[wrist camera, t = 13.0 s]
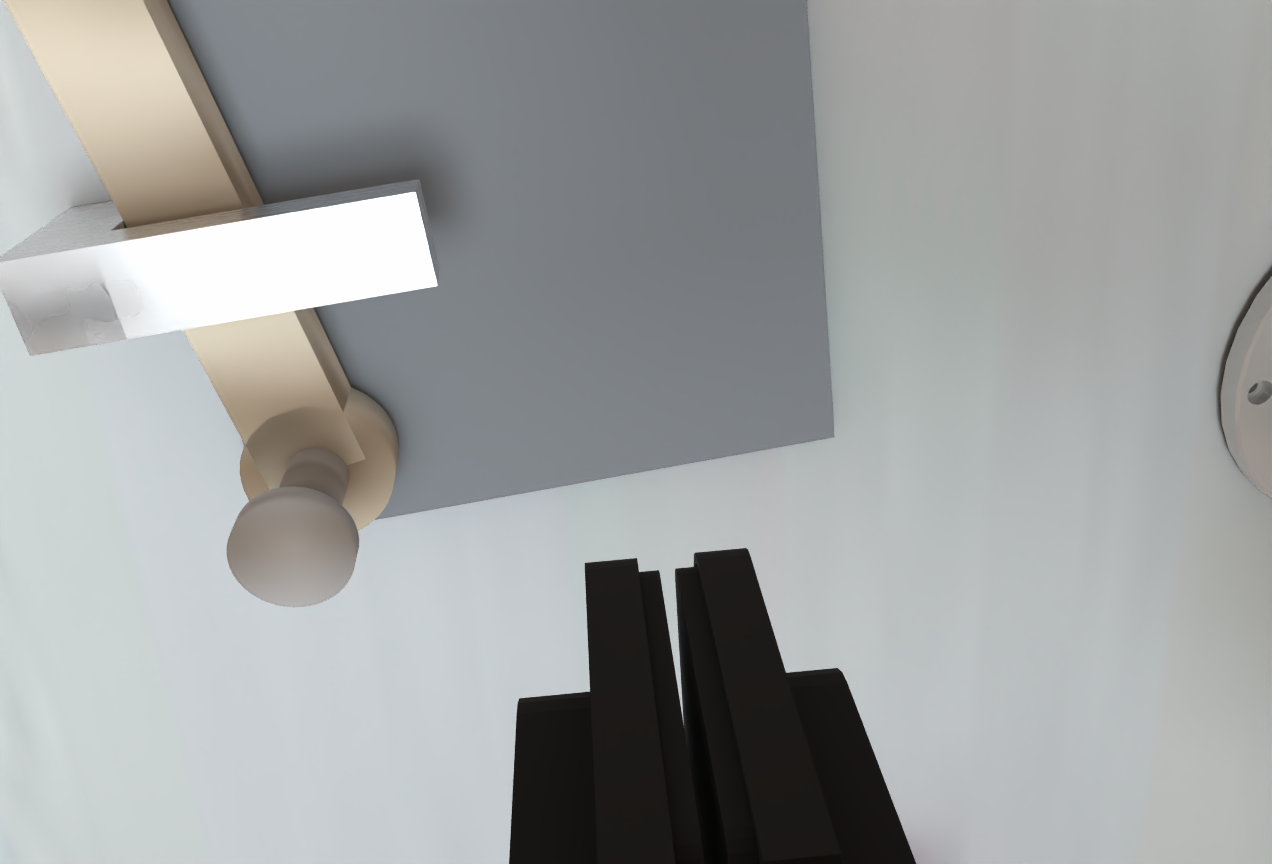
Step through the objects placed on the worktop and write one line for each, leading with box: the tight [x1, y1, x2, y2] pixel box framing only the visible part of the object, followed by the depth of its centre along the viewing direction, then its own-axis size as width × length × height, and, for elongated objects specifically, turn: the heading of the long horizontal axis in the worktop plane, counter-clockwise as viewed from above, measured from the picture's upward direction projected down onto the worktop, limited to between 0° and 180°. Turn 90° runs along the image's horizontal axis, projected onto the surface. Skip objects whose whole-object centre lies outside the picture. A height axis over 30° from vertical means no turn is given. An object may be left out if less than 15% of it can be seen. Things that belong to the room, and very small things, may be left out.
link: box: [4, 0, 399, 607], centre depth 27 cm, size 18×4×6 cm, turn 17°
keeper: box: [0, 179, 440, 356], centre depth 28 cm, size 10×2×5 cm, turn 98°
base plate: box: [167, 0, 834, 520], centre depth 31 cm, size 18×20×1 cm
